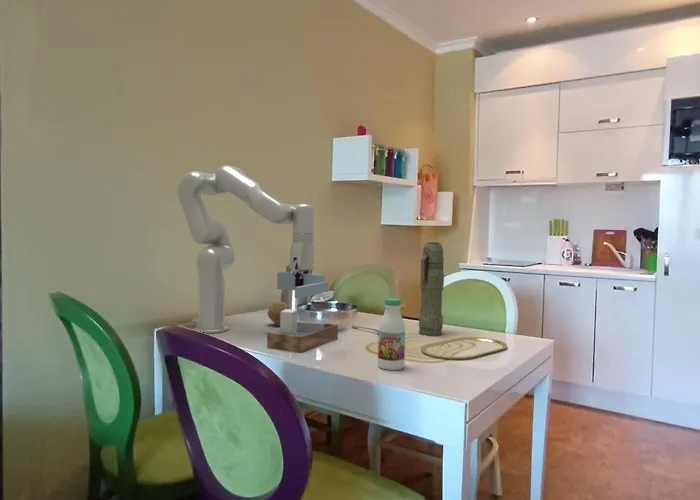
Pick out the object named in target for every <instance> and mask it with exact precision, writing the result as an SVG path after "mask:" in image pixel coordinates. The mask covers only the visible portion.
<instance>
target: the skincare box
mask: <svg viewBox="0 0 700 500" xmlns="http://www.w3.org/2000/svg"><path fill="white" fill-rule="evenodd" d="M297 322H298V309H291V308H289V309H286V310H283V311H281V312H280V326H279V333H281V334H288V335H295V336H298V332H297Z"/></svg>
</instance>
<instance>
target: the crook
mask: <svg viewBox="0 0 700 500" xmlns="http://www.w3.org/2000/svg"><path fill="white" fill-rule="evenodd" d="M276 275H277V277H276V278H277V279H276V280H277V283H276V285H277V286H276V289H277V290H283V291H284V290H286V291H294V299H300V298H305V297H310V296H311V297H312V296H315V295H319V294H325V293H328V292H329V281H326V279H325V277H326V276H325V274H319V273H311V274H306V273H303V278H302V279H304V286H298V287H295V278H294V274H293V273H292V272H291V271H290V272H289V271H287V272H286V271H280V272H277V274H276Z"/></svg>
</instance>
